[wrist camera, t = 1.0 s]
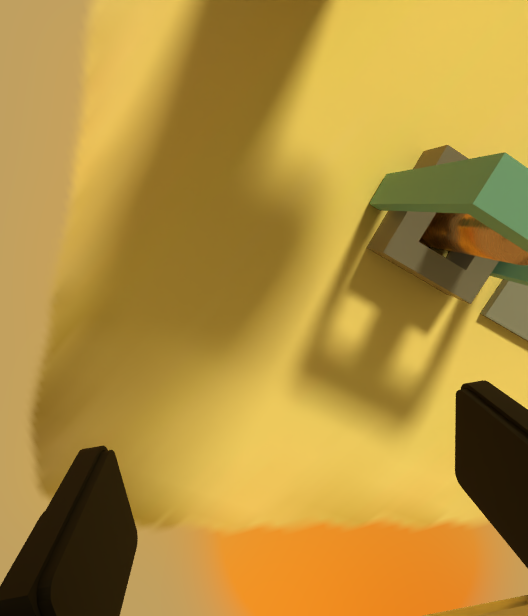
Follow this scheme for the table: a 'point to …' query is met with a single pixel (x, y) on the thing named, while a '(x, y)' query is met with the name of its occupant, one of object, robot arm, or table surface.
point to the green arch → (468, 198)
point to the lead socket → (422, 260)
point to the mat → (509, 307)
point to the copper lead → (471, 238)
